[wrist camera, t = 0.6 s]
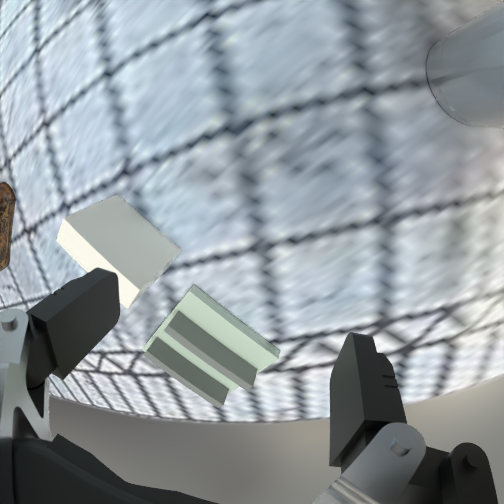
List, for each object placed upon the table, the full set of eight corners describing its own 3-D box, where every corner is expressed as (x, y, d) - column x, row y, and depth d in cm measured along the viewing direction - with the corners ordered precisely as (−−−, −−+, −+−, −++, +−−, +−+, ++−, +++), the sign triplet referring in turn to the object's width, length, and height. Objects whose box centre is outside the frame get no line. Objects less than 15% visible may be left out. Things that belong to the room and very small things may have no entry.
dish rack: (194, 284, 34) (178, 305, 30) (280, 350, 35) (274, 376, 31) (146, 343, 40) (131, 362, 36) (217, 394, 41) (208, 416, 37)
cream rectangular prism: (117, 194, 31) (63, 217, 23) (181, 249, 32) (139, 290, 24) (107, 213, 33) (56, 240, 24) (168, 267, 34) (127, 309, 25)
